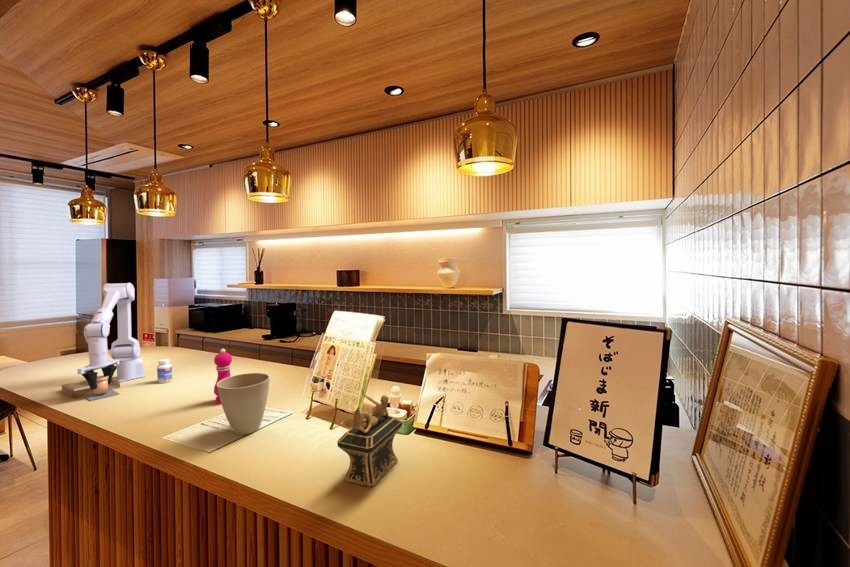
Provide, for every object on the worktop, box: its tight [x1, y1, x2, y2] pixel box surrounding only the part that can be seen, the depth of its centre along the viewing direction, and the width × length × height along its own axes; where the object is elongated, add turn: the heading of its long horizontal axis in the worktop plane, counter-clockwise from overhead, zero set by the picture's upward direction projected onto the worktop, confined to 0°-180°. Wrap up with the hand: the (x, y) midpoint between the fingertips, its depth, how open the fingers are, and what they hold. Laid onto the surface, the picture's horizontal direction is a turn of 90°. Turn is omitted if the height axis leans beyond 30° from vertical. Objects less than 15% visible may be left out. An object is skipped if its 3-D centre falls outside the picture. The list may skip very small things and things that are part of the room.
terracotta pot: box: [93, 375, 109, 394], centre depth 153 cm, size 5×5×6 cm
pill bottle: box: [156, 358, 173, 384], centre depth 170 cm, size 5×5×10 cm
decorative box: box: [336, 388, 403, 488], centre depth 94 cm, size 20×10×20 cm, turn 157°
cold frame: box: [61, 377, 121, 399], centre depth 161 cm, size 15×15×2 cm
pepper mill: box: [213, 348, 233, 405], centre depth 145 cm, size 7×7×20 cm
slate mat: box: [83, 389, 120, 402], centre depth 154 cm, size 9×9×1 cm
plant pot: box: [217, 372, 271, 436], centre depth 119 cm, size 15×15×16 cm
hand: (100, 386), depth 153 cm, fingers closed on terracotta pot, 5 cm apart
